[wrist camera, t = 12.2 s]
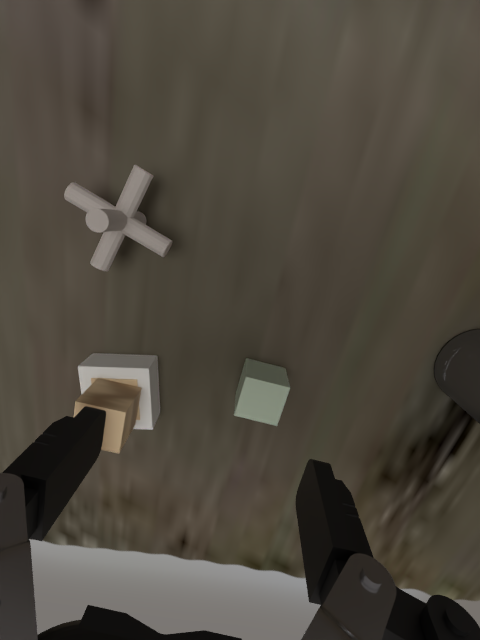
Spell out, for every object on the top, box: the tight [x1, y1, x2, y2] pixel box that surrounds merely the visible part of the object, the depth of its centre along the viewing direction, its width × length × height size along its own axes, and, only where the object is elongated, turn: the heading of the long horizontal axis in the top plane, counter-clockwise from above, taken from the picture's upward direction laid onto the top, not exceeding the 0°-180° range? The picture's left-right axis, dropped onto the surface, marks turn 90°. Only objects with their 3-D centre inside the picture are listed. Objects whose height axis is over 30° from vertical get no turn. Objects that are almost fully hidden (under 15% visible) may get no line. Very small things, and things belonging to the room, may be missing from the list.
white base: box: [78, 353, 160, 430], centre depth 39 cm, size 8×8×4 cm
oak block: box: [74, 378, 142, 453], centre depth 35 cm, size 5×5×5 cm
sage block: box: [234, 358, 290, 426], centre depth 38 cm, size 5×5×5 cm
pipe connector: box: [64, 165, 173, 271], centre depth 30 cm, size 10×10×10 cm
